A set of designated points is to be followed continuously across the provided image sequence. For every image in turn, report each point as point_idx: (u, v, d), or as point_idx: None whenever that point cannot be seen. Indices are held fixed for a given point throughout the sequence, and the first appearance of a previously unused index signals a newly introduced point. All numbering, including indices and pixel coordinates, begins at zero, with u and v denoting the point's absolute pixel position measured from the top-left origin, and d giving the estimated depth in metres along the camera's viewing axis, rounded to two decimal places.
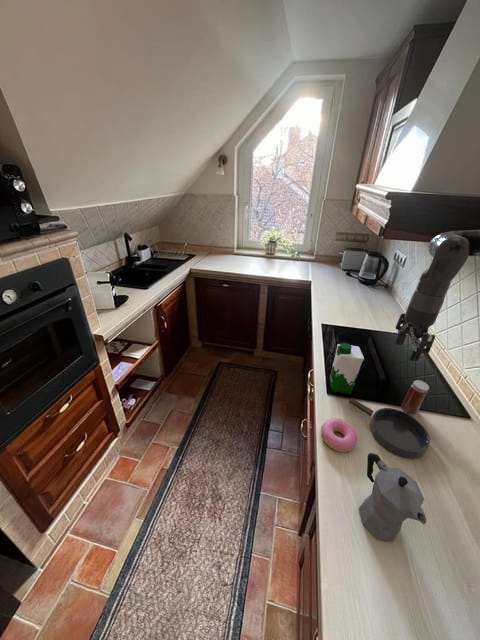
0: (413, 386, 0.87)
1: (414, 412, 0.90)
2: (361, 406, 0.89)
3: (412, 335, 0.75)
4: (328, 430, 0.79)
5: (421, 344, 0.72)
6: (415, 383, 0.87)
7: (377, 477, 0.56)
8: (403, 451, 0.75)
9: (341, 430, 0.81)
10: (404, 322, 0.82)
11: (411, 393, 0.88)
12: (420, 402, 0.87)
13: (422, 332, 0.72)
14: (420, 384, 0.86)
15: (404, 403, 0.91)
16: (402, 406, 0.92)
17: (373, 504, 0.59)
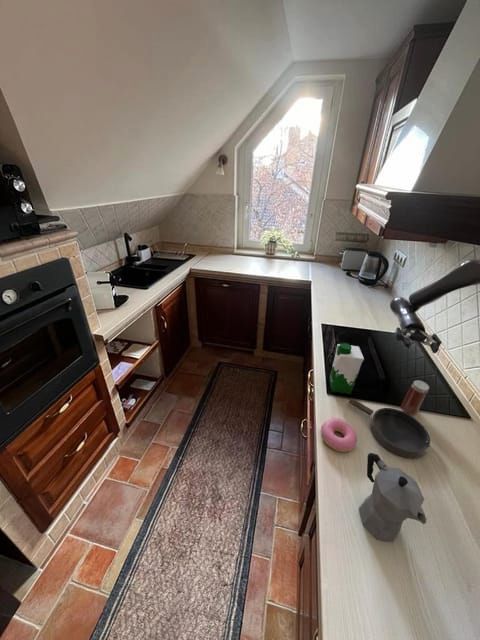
0: (413, 386, 0.87)
1: (414, 412, 0.90)
2: (361, 406, 0.89)
3: None
4: (328, 430, 0.79)
5: None
6: (415, 383, 0.87)
7: (377, 477, 0.56)
8: (403, 451, 0.75)
9: (341, 430, 0.81)
10: (434, 339, 0.95)
11: (411, 393, 0.88)
12: (420, 402, 0.87)
13: None
14: (420, 384, 0.86)
15: (404, 403, 0.91)
16: (402, 406, 0.92)
17: (373, 504, 0.59)
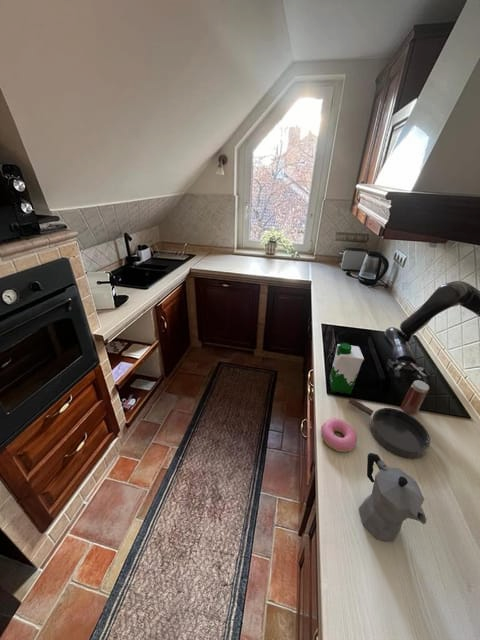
0: (413, 386, 0.87)
1: (414, 412, 0.90)
2: (361, 406, 0.89)
3: None
4: (328, 430, 0.79)
5: None
6: (415, 383, 0.87)
7: (377, 477, 0.56)
8: (403, 451, 0.75)
9: (341, 430, 0.81)
10: (424, 372, 0.99)
11: (411, 393, 0.88)
12: (420, 402, 0.87)
13: None
14: (420, 384, 0.86)
15: (404, 403, 0.91)
16: (402, 406, 0.92)
17: (373, 504, 0.59)
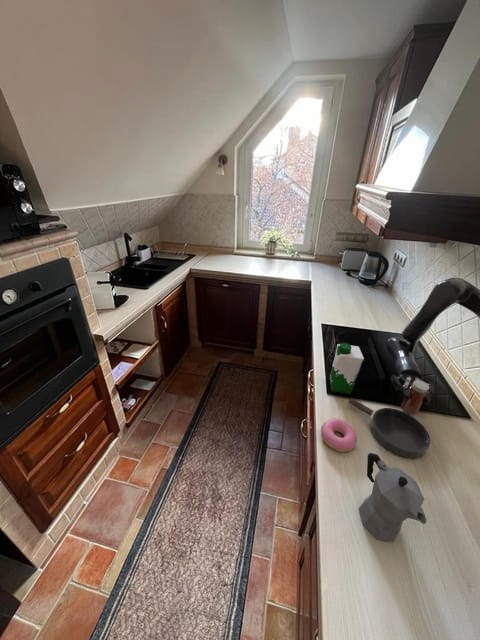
0: (413, 386, 0.87)
1: (414, 412, 0.90)
2: (361, 406, 0.89)
3: None
4: (328, 430, 0.79)
5: None
6: (415, 383, 0.87)
7: (377, 477, 0.56)
8: (403, 451, 0.75)
9: (341, 430, 0.81)
10: (429, 389, 0.91)
11: (411, 393, 0.88)
12: (420, 402, 0.87)
13: None
14: (420, 384, 0.86)
15: (404, 403, 0.91)
16: (402, 406, 0.92)
17: (373, 504, 0.59)
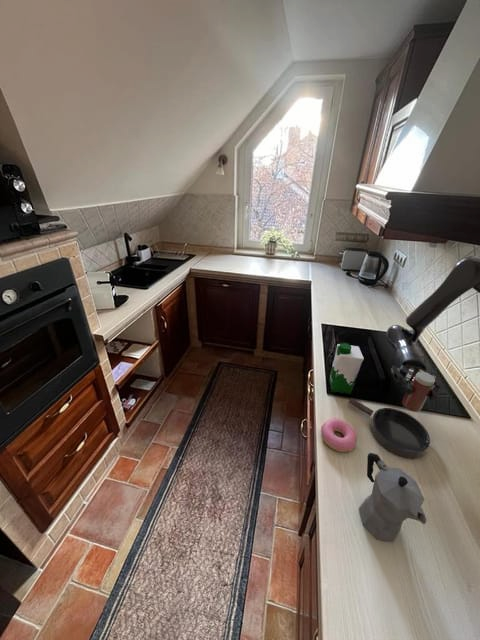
0: (416, 378, 0.75)
1: (417, 408, 0.77)
2: (361, 406, 0.89)
3: None
4: (328, 430, 0.79)
5: None
6: (419, 375, 0.75)
7: (377, 477, 0.56)
8: (403, 451, 0.75)
9: (341, 430, 0.81)
10: (434, 382, 0.79)
11: (414, 386, 0.75)
12: (424, 397, 0.75)
13: None
14: (424, 376, 0.74)
15: (406, 398, 0.79)
16: (403, 402, 0.80)
17: (373, 504, 0.59)
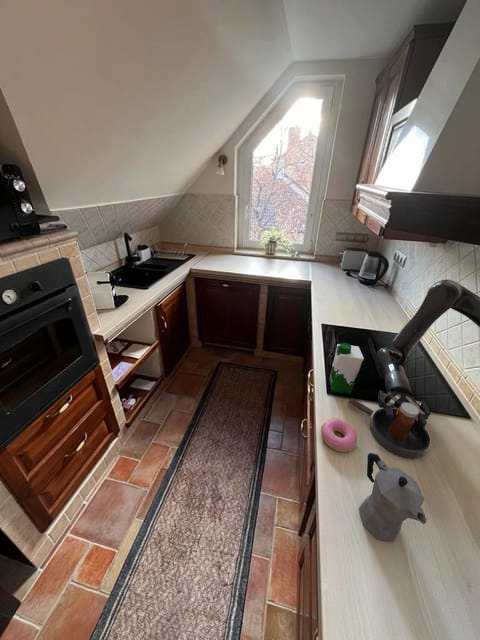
0: (401, 409, 0.77)
1: (402, 438, 0.80)
2: (361, 406, 0.89)
3: None
4: (328, 430, 0.79)
5: None
6: (403, 406, 0.77)
7: (377, 477, 0.56)
8: (403, 451, 0.75)
9: (341, 430, 0.81)
10: (422, 408, 0.82)
11: (399, 417, 0.78)
12: (409, 427, 0.77)
13: None
14: (408, 408, 0.77)
15: (391, 427, 0.81)
16: (389, 430, 0.83)
17: (373, 504, 0.59)
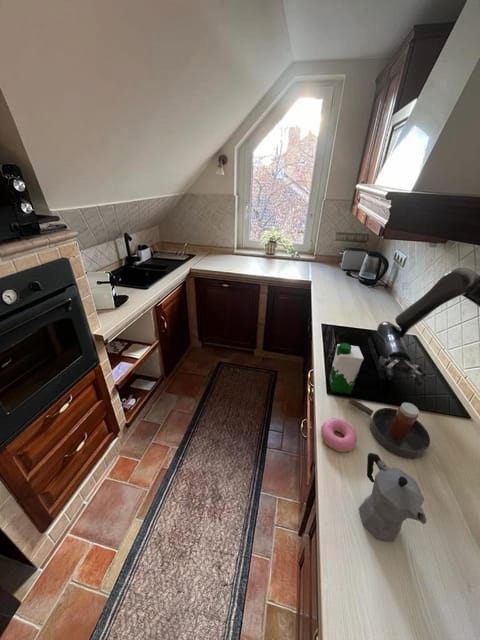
0: (401, 409, 0.77)
1: (402, 438, 0.80)
2: (361, 406, 0.89)
3: None
4: (328, 430, 0.79)
5: None
6: (403, 406, 0.77)
7: (377, 477, 0.56)
8: (403, 451, 0.75)
9: (341, 430, 0.81)
10: (419, 370, 0.89)
11: (399, 417, 0.78)
12: (409, 427, 0.77)
13: None
14: (408, 408, 0.77)
15: (391, 427, 0.81)
16: (389, 430, 0.83)
17: (373, 504, 0.59)
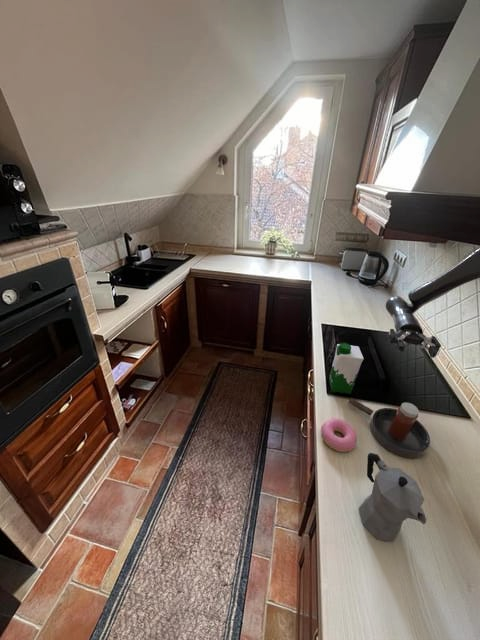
0: (401, 409, 0.77)
1: (402, 438, 0.80)
2: (361, 406, 0.89)
3: None
4: (328, 430, 0.79)
5: None
6: (403, 406, 0.77)
7: (377, 477, 0.56)
8: (403, 451, 0.75)
9: (341, 430, 0.81)
10: (432, 342, 0.83)
11: (399, 417, 0.78)
12: (409, 427, 0.77)
13: None
14: (408, 408, 0.77)
15: (391, 427, 0.81)
16: (389, 430, 0.83)
17: (373, 504, 0.59)
